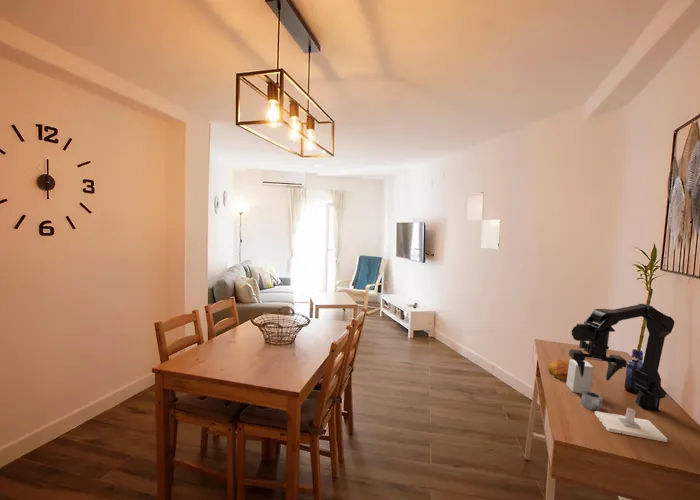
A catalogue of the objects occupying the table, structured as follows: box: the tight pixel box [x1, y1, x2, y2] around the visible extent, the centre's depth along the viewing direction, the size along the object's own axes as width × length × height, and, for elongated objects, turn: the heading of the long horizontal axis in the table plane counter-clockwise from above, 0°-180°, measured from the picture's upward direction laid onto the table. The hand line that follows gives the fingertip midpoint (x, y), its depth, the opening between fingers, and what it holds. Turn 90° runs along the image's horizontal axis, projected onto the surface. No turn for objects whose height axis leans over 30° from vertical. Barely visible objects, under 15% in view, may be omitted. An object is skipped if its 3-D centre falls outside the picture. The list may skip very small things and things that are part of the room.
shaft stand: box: [594, 407, 668, 443], centre depth 132 cm, size 18×12×7 cm, turn 76°
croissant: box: [547, 359, 569, 382], centre depth 174 cm, size 14×16×8 cm
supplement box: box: [565, 358, 595, 394], centre depth 160 cm, size 7×7×13 cm
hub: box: [581, 390, 604, 412], centre depth 146 cm, size 6×6×5 cm
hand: (594, 378), depth 145 cm, fingers open, 9 cm apart
